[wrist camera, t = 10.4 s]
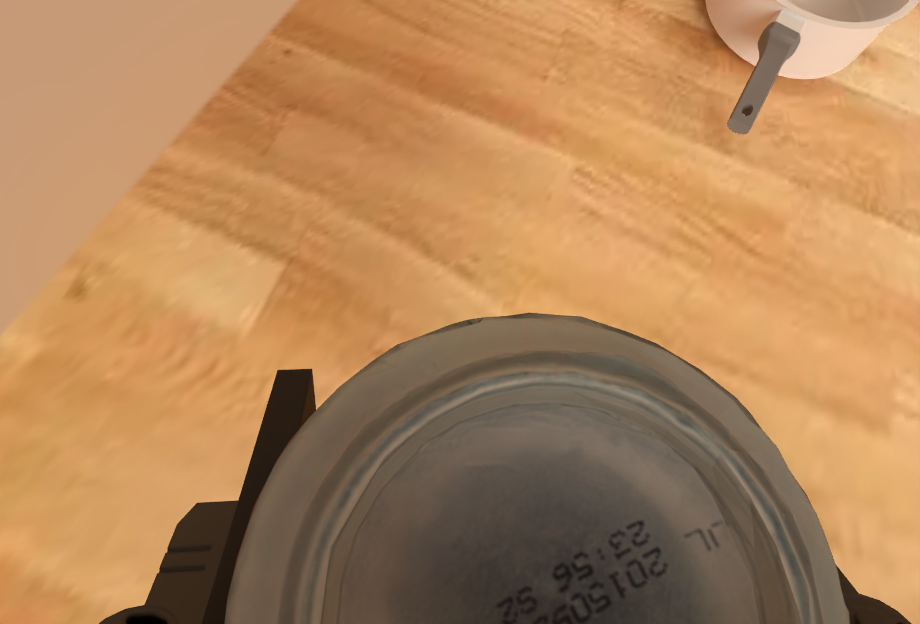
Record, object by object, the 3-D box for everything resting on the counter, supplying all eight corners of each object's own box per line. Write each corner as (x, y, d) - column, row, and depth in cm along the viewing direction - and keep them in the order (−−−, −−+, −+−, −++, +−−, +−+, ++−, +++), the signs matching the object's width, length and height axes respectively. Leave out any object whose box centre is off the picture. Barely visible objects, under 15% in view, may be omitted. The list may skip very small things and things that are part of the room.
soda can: (281, 530, 18) (58, 533, 6) (486, 389, 19) (615, 184, 8) (424, 771, 16) (493, 1388, 5) (632, 593, 18) (1057, 709, 6)
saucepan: (607, 133, 38) (640, 69, 33) (731, -71, 44) (776, -152, 39) (781, 227, 37) (844, 177, 32) (883, 5, 43) (949, -68, 38)
